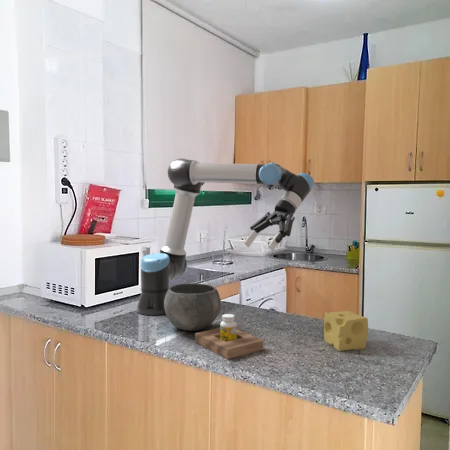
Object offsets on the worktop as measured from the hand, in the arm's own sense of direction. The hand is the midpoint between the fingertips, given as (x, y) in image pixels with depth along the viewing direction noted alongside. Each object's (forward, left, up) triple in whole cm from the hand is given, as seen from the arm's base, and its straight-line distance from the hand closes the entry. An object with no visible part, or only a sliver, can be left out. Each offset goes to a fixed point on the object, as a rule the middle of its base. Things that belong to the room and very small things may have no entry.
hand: (257, 246), depth 156 cm
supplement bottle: (+11, -22, -30) cm, 38 cm away
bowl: (-11, -22, -30) cm, 39 cm away
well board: (+11, -22, -30) cm, 38 cm away
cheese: (+32, +10, -30) cm, 45 cm away
